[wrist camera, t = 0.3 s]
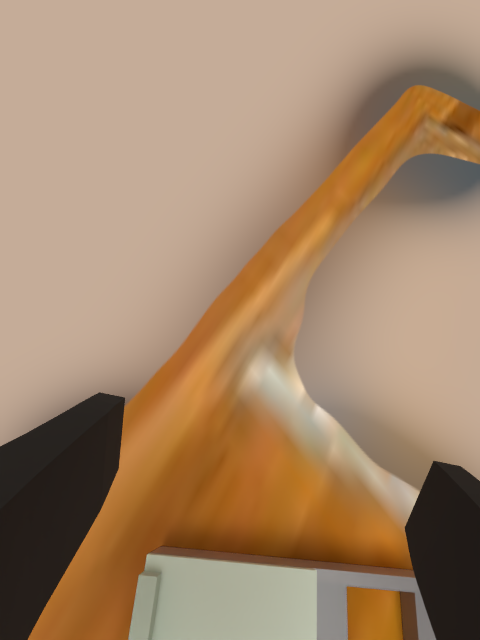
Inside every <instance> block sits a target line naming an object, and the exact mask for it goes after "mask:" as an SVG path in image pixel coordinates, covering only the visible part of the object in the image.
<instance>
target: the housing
mask: <svg viewBox="0 0 480 640" xmlns="http://www.w3.org/2000/svg"><path fill="white" fill-rule="evenodd" d="M150 553H155V554H165V555H176V556H186V557H197V558H207V559H218V560H228V561H239V562H249V563H260V564H270V565H280V566H291V567H301V568H312V569H315V570H317V640H348V628H347V586H350V587H360V588H371V589H381V590H392V591H400V598H401V612H402V626H403V640H436V638H435V635H434V632H433V629H432V626H431V623H430V620H429V617H428V614H427V611H426V608H425V605H424V602H423V599H422V596H421V593H420V590H419V587H418V584H417V581H416V578H415V575H414V570H407V569H397V568H386V567H376V566H365V565H355V564H344V563H334V562H323V561H313V560H303V559H292V558H282V557H271V556H261V555H250V554H240V553H229V552H219V551H208V550H198V549H187V548H177V547H166V546H161V547H159V548H157V549H155V550H154V551H152V552H150Z"/></svg>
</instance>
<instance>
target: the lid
mask: <svg viewBox="0 0 480 640" xmlns="http://www.w3.org/2000/svg"><path fill="white" fill-rule="evenodd" d="M128 640H317V570H315V569H312V568H301V567H291V566H280V565H270V564H260V563H249V562H239V561H228V560H218V559H207V558H197V557H186V556H176V555H165V554H155V553H148V554H147V557H146V564H145V570H144V571H143V572H142V573H141V574H140V575H139V577H138V584H137V590H136V596H135V602H134V608H133V614H132V620H131V626H130V632H129V638H128Z"/></svg>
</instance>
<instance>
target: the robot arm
mask: <svg viewBox="0 0 480 640" xmlns="http://www.w3.org/2000/svg"><path fill="white" fill-rule="evenodd" d="M124 403H125V398H123V397H119V396H114V395H109V394H104V393H98V394H96V395H94V396H92V397H90V398H88V399H86V400H85V401H83V402H81V403H79V404H78V405H76V406H75V407H72V408H71V409H69V410H67V411H65V412H64V413H62V414H60V415H58V416H57V417H55V418H53V419H51V420H49V421H48V422H46V423H44V424H42V425H40V426H39V427H37V428H35V429H33V430H31V431H30V432H28V433H26V434H24V435H22V436H20V437H18V438H16V439H14V440H12V441H10V442H8V443H6V444H4V445H2V446H0V640H28V637H29V635H30V634H31V632H32V630H33V628H34V626H35V624H36V622H37V620H38V619H39V617H40V615H41V613H42V611H43V609H44V607H45V606H46V604H47V602H48V601H49V599H50V597H51V595H52V594H53V592H54V590H55V588H56V587H57V585H58V583H59V582H60V580H61V578H62V576H63V575H64V573H65V571H66V569H67V568H68V566H69V564H70V562H71V561H72V559H73V557H74V556H75V554H76V552H77V550H78V549H79V547H80V545H81V543H82V542H83V540H84V538H85V536H86V535H87V533H88V531H89V529H90V528H91V526H92V524H93V522H94V521H95V519H96V517H97V515H98V514H99V512H100V510H101V508H102V506H103V503H104V501H105V499H106V497H107V494H108V492H109V490H110V487H111V485H112V483H113V480H114V478H115V476H116V473H117V471H118V468H119V458H120V447H121V436H122V425H123V414H124ZM405 532H406V537H407V542H408V547H409V553H410V557H411V562H412V566H413V570H414V575H415V578H416V581H417V584H418V587H419V590H420V593H421V596H422V599H423V602H424V605H425V608H426V611H427V614H428V617H429V620H430V623H431V626H432V629H433V632H434V635H435V638H436V640H480V481H479V480H478V479H476V478H475V477H474V476H473V475H471V474H470V473H469V472H467V471H466V470H465V469H463V468H462V467H461V466H457V465H451V464H447V463H442V462H437V461H433V464H432V466H431V468H430V471H429V473H428V475H427V477H426V480H425V482H424V484H423V487H422V489H421V491H420V494H419V496H418V498H417V501H416V503H415V505H414V508H413V510H412V512H411V515H410V517H409V519H408V522H407V524H406V526H405Z"/></svg>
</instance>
